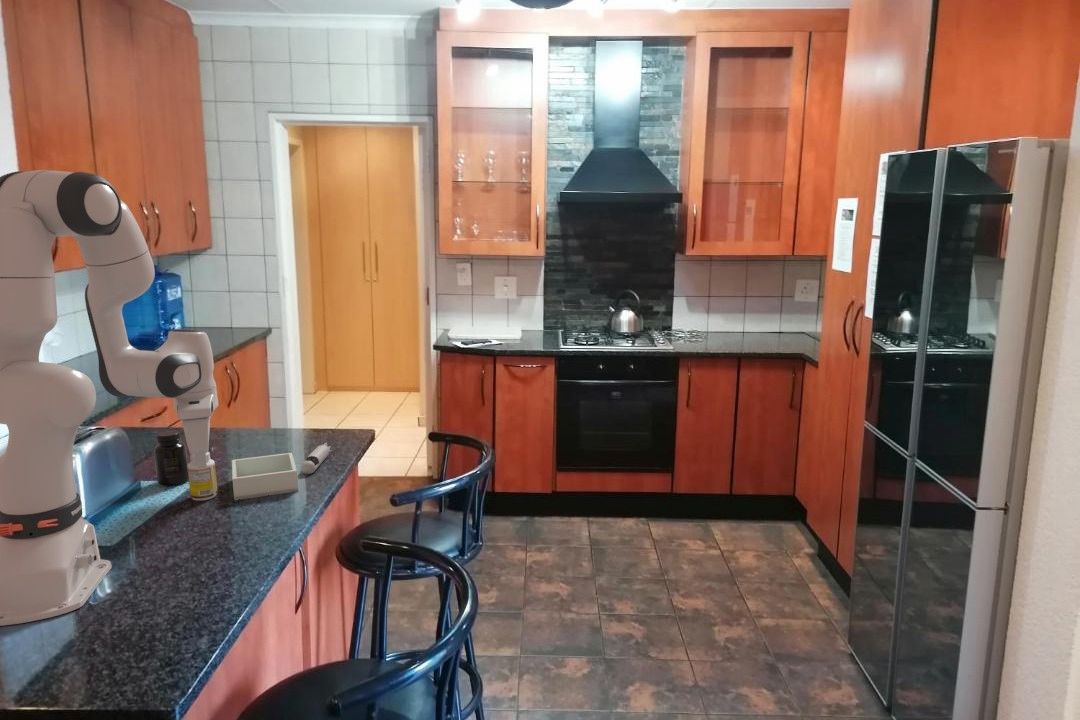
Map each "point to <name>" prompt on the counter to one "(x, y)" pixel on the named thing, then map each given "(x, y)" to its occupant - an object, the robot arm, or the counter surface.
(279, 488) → the bin
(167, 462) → the supplement bottle
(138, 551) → the counter surface
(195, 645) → the counter surface
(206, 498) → the supplement bottle
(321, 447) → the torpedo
